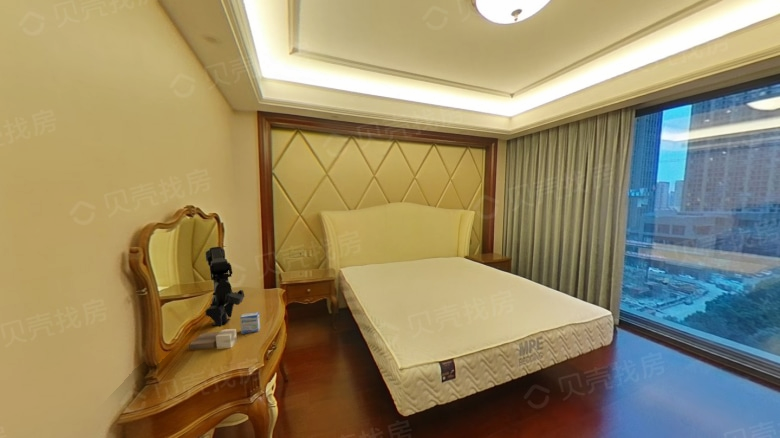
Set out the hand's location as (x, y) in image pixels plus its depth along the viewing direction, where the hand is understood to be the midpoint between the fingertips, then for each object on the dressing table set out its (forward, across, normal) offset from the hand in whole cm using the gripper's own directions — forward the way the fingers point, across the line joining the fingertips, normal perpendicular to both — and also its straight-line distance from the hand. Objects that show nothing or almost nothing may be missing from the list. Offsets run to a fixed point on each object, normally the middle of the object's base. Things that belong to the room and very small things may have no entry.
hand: (225, 321), depth 127 cm
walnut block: (+12, +3, +10) cm, 16 cm away
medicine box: (+11, +12, -6) cm, 17 cm away
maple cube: (+11, 0, 0) cm, 11 cm away
